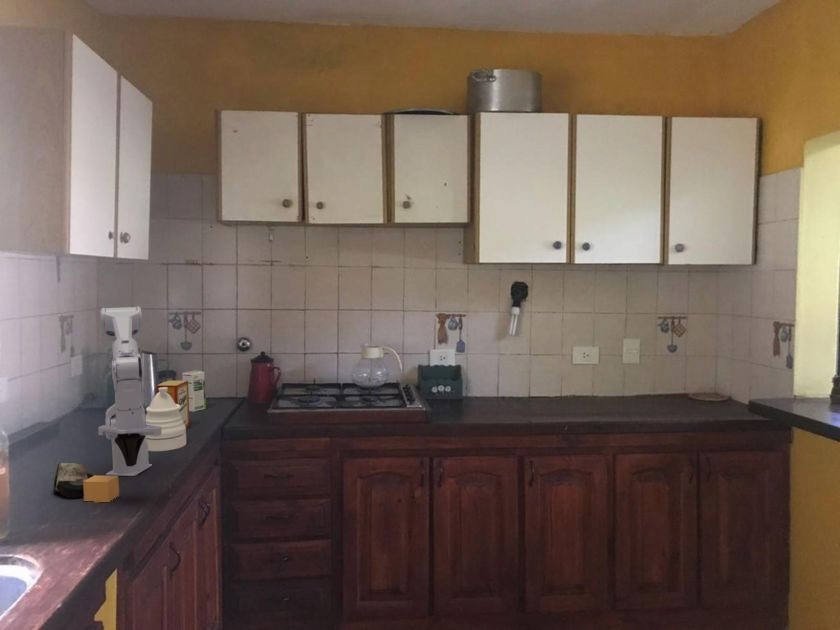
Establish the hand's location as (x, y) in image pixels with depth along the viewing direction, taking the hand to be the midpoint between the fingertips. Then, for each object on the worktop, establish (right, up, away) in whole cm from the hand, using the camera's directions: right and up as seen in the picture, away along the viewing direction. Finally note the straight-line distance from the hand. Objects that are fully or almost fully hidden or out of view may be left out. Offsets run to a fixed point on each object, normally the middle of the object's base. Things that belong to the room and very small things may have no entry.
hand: (131, 465), depth 159 cm
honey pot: (-10, -5, +48) cm, 49 cm away
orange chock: (-8, -8, +2) cm, 12 cm away
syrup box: (-17, -1, +97) cm, 98 cm away
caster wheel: (-16, -8, +7) cm, 20 cm away
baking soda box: (-14, -3, +67) cm, 69 cm away
